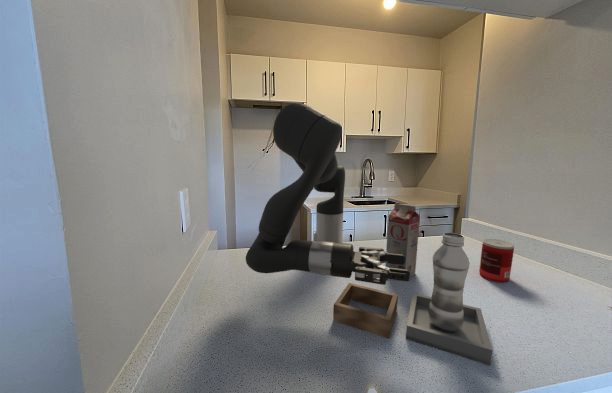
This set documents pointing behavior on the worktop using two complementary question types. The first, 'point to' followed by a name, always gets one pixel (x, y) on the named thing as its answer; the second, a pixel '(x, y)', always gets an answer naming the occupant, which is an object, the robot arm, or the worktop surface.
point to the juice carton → (403, 235)
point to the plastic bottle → (449, 283)
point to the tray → (463, 342)
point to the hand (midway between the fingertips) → (406, 267)
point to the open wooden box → (365, 318)
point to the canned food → (496, 260)
